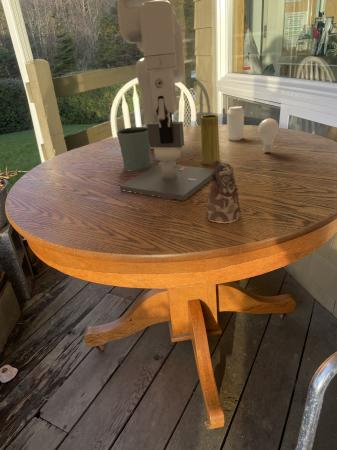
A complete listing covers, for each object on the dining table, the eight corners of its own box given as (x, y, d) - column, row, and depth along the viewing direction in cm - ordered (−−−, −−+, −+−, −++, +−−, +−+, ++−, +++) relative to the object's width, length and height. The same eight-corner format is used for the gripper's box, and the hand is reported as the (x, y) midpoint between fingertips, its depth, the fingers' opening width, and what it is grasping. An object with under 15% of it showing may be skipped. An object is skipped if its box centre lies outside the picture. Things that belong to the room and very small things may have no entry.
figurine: (217, 227, 65) (215, 171, 59) (200, 214, 71) (197, 161, 65) (246, 218, 67) (248, 163, 62) (228, 206, 73) (227, 155, 68)
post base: (120, 190, 88) (116, 166, 85) (160, 168, 103) (157, 146, 99) (183, 201, 78) (181, 173, 75) (217, 174, 93) (217, 150, 89)
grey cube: (178, 161, 82) (176, 125, 78) (147, 160, 86) (143, 126, 82) (189, 152, 89) (187, 118, 85) (160, 151, 93) (156, 119, 88)
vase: (224, 160, 103) (223, 114, 97) (212, 166, 100) (211, 118, 93) (208, 158, 107) (207, 113, 100) (197, 163, 103) (194, 117, 97)
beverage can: (227, 137, 129) (227, 106, 124) (243, 136, 128) (243, 105, 122) (227, 141, 124) (227, 109, 118) (244, 140, 123) (244, 107, 117)
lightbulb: (275, 149, 109) (277, 115, 104) (279, 154, 103) (281, 119, 98) (256, 150, 110) (257, 117, 105) (258, 156, 104) (260, 121, 99)
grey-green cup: (116, 169, 106) (110, 132, 100) (139, 160, 112) (134, 125, 107) (137, 174, 100) (131, 135, 94) (159, 164, 106) (155, 127, 100)
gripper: (172, 63, 69) (179, 148, 77) (179, 61, 83) (184, 133, 91) (138, 66, 70) (148, 150, 78) (150, 64, 84) (158, 135, 93)
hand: (167, 140), depth 85 cm, fingers closed on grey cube, 3 cm apart
